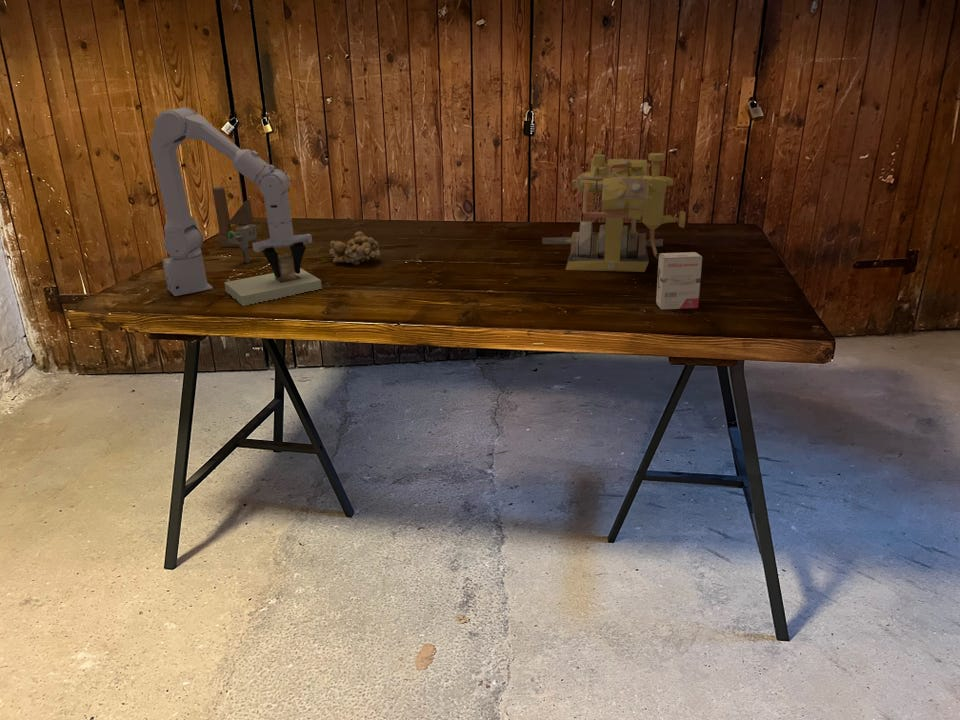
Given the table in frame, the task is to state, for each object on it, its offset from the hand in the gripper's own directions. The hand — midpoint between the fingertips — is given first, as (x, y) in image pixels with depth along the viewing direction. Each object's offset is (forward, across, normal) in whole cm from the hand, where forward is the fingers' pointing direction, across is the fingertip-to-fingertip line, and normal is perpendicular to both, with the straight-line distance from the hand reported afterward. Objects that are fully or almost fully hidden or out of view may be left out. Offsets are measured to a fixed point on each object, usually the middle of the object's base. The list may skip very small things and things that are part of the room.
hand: (287, 274), depth 181 cm
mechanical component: (+4, -1, +31) cm, 31 cm away
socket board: (+3, -4, 0) cm, 5 cm away
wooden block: (+4, +3, +52) cm, 52 cm away
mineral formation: (+4, +24, +10) cm, 26 cm away
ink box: (+4, +65, -70) cm, 96 cm away
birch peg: (+3, 0, 0) cm, 4 cm away
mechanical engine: (+4, +77, -36) cm, 85 cm away
